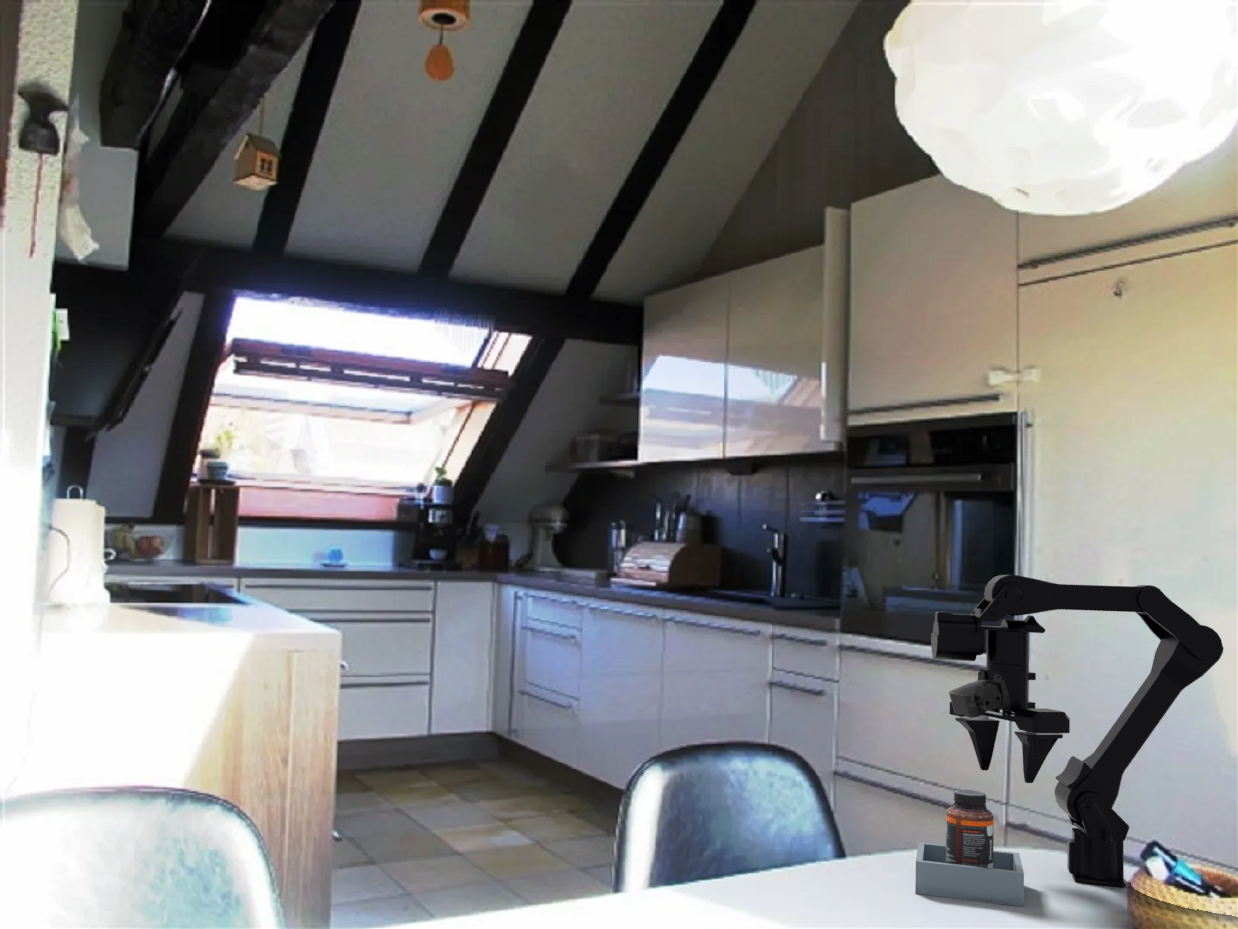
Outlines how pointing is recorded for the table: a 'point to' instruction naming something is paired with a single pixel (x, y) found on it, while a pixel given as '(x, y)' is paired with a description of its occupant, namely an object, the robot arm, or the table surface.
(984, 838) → the supplement bottle
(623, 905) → the table surface
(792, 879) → the table surface
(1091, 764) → the robot arm
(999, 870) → the tote
